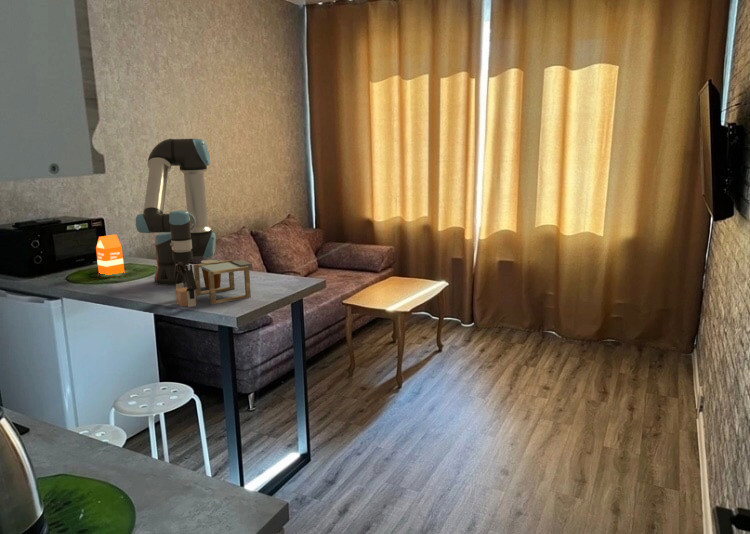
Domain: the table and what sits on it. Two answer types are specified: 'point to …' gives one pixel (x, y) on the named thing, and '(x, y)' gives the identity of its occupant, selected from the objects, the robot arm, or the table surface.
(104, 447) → the table surface
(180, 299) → the block
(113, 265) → the orange juice
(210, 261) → the disposable coffee cup
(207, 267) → the trapdoor
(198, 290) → the frame
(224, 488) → the table surface
